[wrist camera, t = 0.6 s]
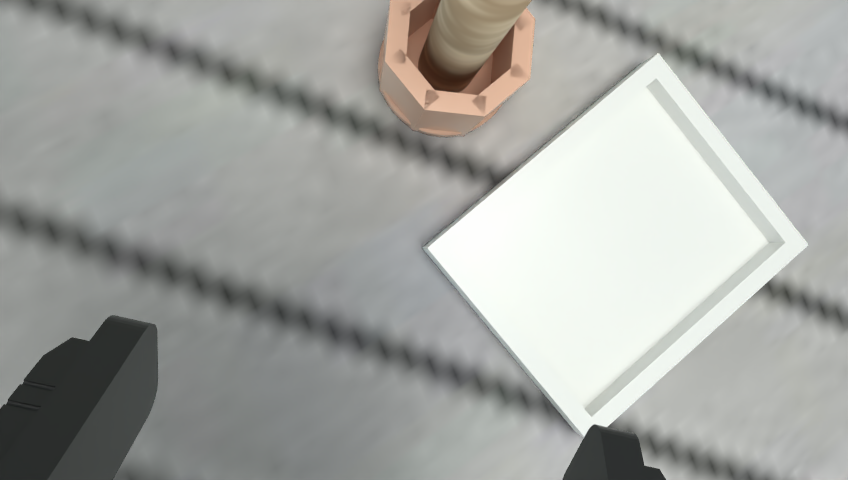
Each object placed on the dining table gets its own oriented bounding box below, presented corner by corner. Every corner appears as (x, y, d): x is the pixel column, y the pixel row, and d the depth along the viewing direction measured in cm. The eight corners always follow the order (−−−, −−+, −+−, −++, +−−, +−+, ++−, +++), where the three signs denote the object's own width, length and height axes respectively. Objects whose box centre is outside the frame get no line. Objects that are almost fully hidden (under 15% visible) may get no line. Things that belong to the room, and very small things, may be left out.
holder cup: (350, 60, 38) (350, 26, 32) (451, -21, 39) (470, -69, 33) (435, 164, 39) (451, 149, 33) (534, 82, 40) (567, 53, 34)
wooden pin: (406, 62, 38) (449, -72, 22) (449, 27, 38) (522, -131, 22) (442, 106, 38) (511, 6, 22) (485, 71, 38) (583, -53, 22)
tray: (422, 247, 39) (427, 248, 36) (639, 64, 40) (658, 53, 38) (574, 430, 40) (589, 442, 37) (780, 244, 41) (808, 244, 39)
